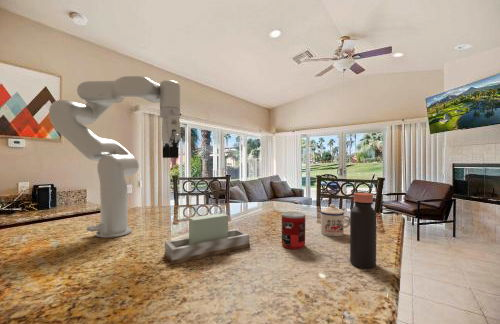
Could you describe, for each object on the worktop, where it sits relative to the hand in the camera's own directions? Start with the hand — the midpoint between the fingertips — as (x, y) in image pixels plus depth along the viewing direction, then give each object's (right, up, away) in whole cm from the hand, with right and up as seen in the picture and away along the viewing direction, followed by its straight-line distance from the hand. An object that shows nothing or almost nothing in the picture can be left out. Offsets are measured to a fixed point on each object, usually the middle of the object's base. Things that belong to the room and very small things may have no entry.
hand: (170, 157), depth 97 cm
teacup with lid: (+65, -31, +3) cm, 72 cm away
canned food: (+46, -31, -11) cm, 56 cm away
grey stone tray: (+18, -31, -16) cm, 39 cm away
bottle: (+63, -31, -26) cm, 75 cm away
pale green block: (+18, -30, -16) cm, 38 cm away
